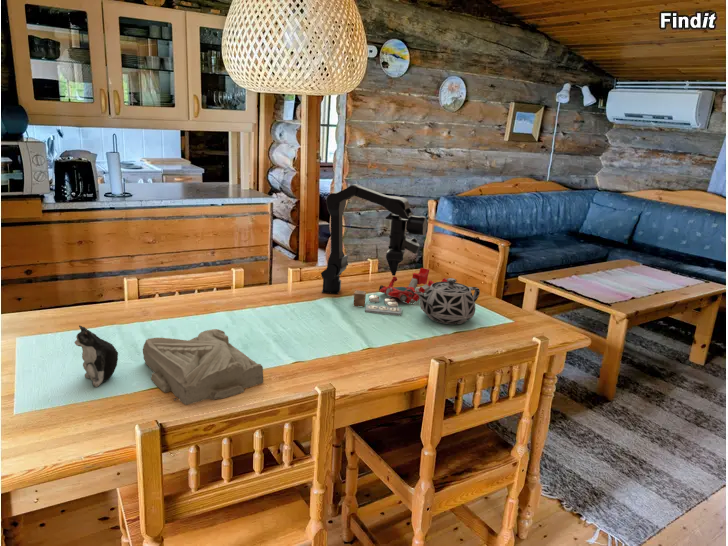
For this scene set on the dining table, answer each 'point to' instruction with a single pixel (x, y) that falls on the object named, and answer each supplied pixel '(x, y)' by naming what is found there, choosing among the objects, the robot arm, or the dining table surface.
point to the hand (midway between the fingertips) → (394, 272)
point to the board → (383, 309)
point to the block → (359, 298)
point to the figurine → (96, 356)
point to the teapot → (449, 302)
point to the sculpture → (200, 367)
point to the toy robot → (409, 287)
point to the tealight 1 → (374, 298)
